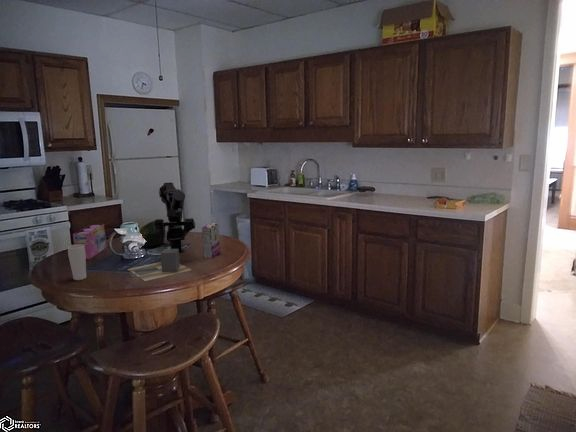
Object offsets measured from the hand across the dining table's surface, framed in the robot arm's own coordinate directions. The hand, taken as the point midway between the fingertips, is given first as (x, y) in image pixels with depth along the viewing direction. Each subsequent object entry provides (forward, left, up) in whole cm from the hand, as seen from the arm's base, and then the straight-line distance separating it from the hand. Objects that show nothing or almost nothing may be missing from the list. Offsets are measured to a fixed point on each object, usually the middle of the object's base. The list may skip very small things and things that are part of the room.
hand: (173, 239), depth 201 cm
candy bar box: (-2, +21, -13) cm, 25 cm away
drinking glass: (-12, -40, -13) cm, 44 cm away
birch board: (+2, -9, -13) cm, 16 cm away
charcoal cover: (+6, -5, -13) cm, 15 cm away
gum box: (-53, -24, -13) cm, 60 cm away
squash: (-44, +6, -13) cm, 47 cm away
